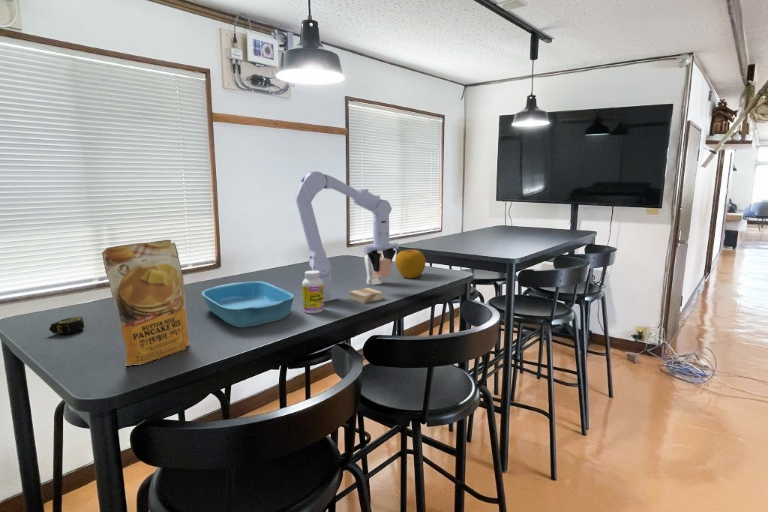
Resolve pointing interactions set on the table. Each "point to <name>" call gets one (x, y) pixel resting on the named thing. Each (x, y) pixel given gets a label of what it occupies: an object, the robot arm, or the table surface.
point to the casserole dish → (248, 303)
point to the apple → (410, 263)
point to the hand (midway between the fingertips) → (381, 270)
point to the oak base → (365, 295)
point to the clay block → (383, 268)
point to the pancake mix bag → (148, 299)
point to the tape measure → (67, 325)
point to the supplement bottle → (313, 292)
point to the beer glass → (371, 271)
